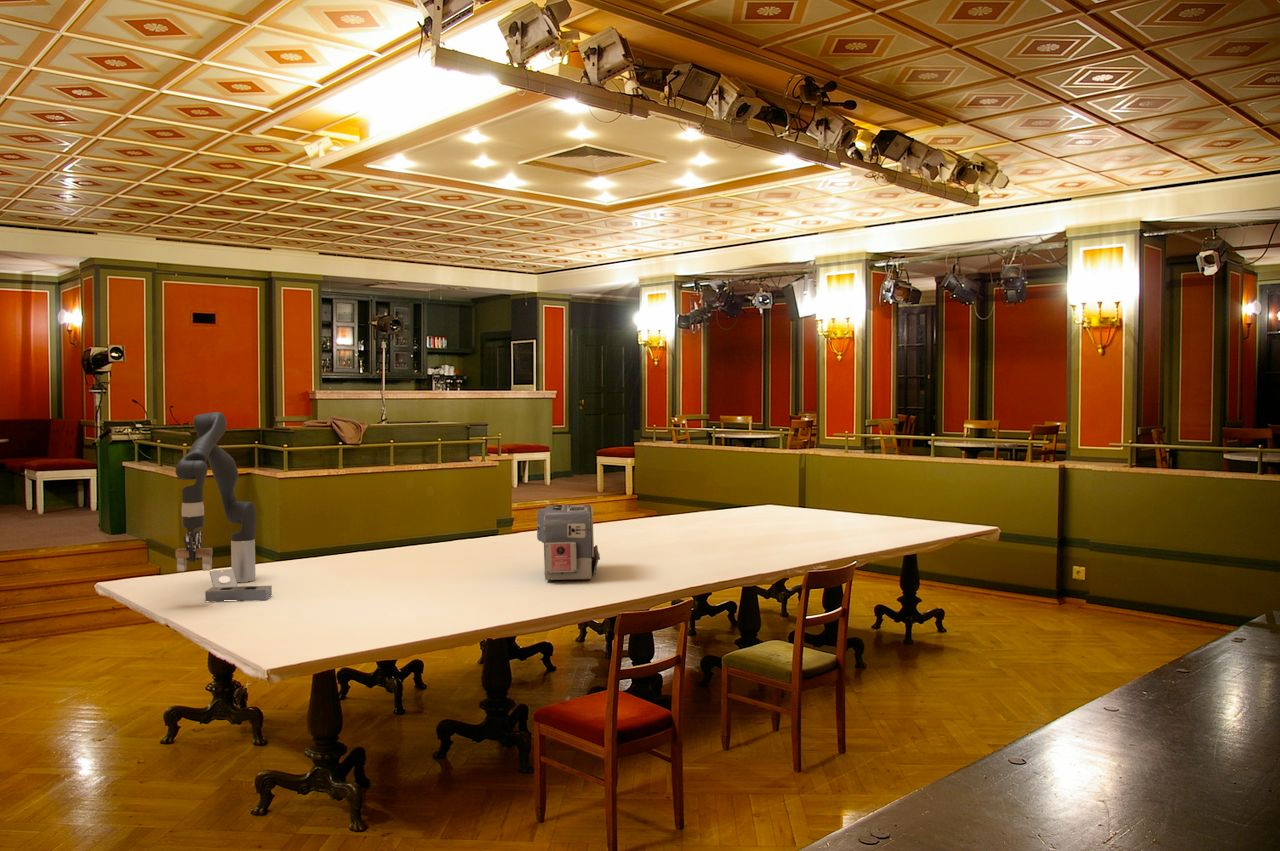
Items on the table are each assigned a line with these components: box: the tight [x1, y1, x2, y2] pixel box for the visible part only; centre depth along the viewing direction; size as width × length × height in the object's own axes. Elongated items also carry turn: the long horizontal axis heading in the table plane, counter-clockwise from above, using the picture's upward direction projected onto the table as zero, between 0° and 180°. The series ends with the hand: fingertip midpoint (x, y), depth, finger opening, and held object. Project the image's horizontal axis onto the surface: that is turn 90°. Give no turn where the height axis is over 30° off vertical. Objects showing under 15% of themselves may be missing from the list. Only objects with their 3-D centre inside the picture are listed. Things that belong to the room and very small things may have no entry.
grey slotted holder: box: [204, 585, 273, 601], centre depth 362 cm, size 8×22×4 cm, turn 96°
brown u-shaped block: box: [175, 547, 213, 572], centre depth 351 cm, size 3×12×8 cm, turn 96°
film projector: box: [536, 504, 601, 583], centre depth 403 cm, size 39×29×30 cm
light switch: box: [209, 568, 238, 587], centre depth 376 cm, size 8×6×14 cm
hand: (194, 560), depth 351 cm, fingers closed on brown u-shaped block, 3 cm apart
